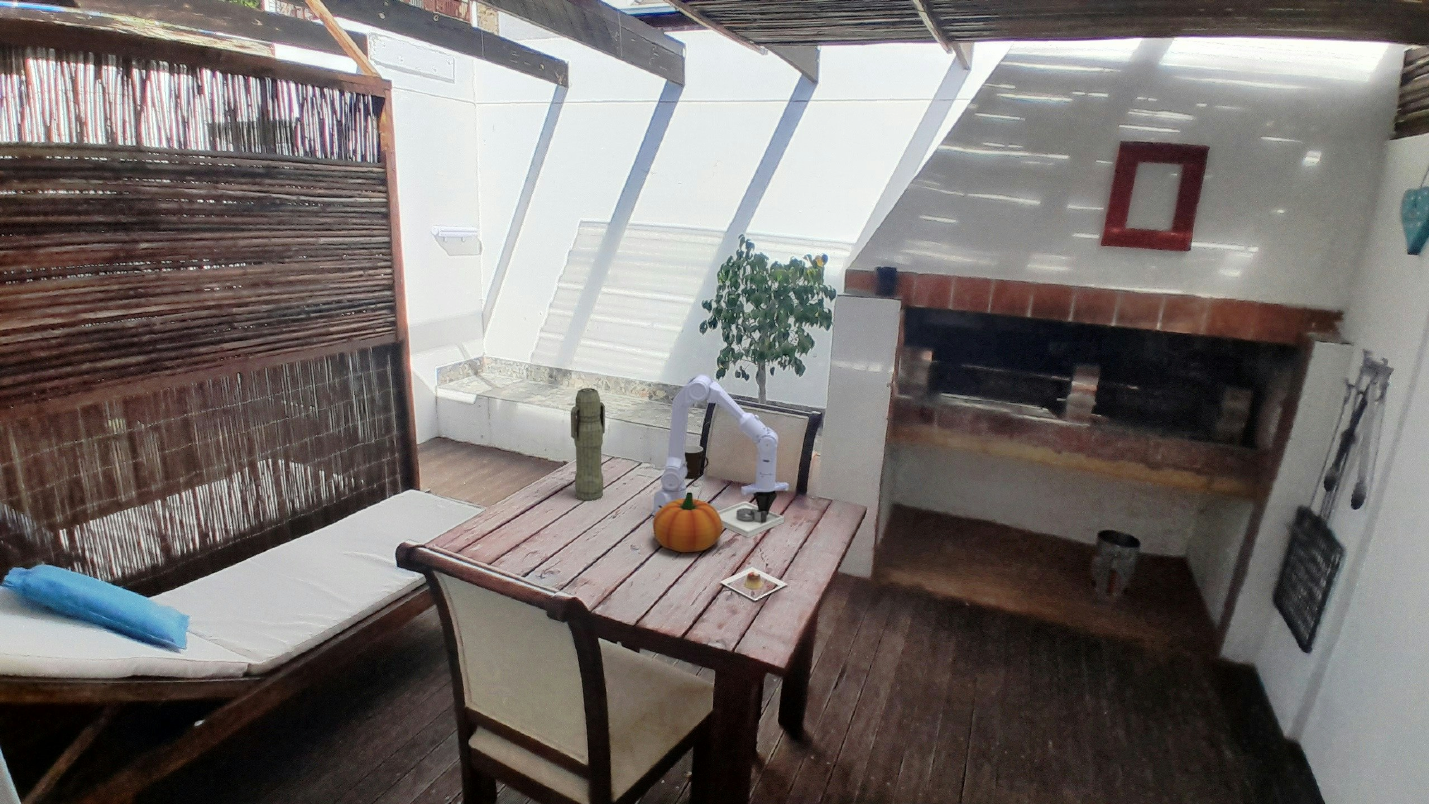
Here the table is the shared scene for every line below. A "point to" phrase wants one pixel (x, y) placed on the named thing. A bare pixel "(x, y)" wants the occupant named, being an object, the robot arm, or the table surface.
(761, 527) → the board
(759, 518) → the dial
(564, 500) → the table surface
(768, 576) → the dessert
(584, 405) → the green carved statue
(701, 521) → the pumpkin
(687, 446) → the coffee mug
